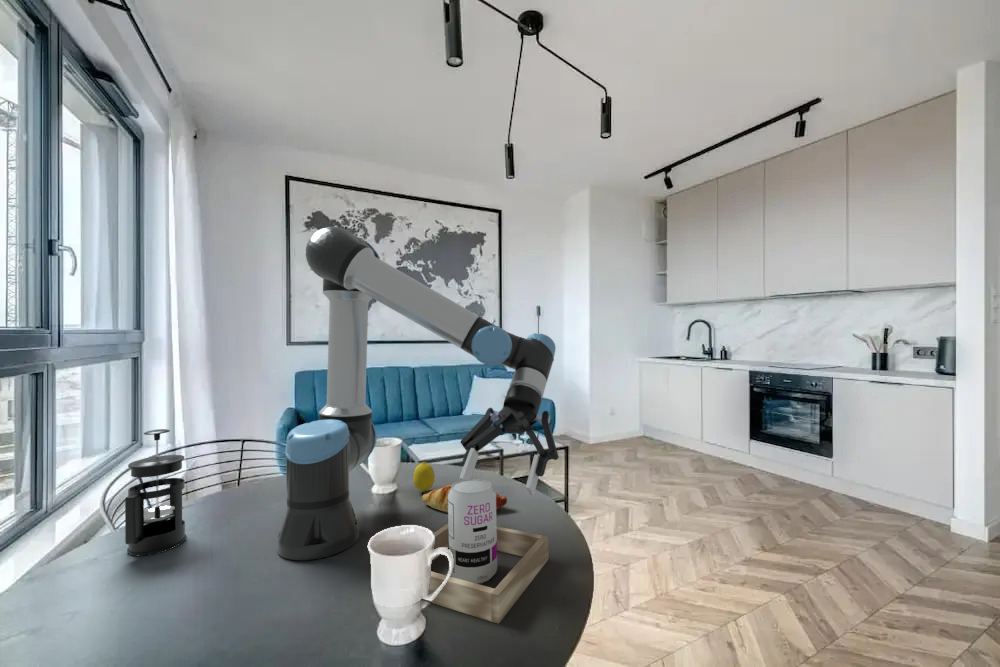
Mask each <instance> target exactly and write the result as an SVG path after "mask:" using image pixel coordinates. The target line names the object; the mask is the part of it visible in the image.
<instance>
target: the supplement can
mask: <svg viewBox="0 0 1000 667" xmlns="http://www.w3.org/2000/svg"><path fill="white" fill-rule="evenodd" d="M451 485H452V486H451V490H450V492H449V494H448V514H447V517H448V518H447V519H448V522H447V523H448V527H449V549H450V550H451V552H452V554H453V558H454V568H453V572H452V575H450V577H454V578H457V579H461V580H465V581H468V582H472V583H476V584H479V585H481V584H484V583H486V582H488V581H490V579H491V578H493V576H495V574H496V573H497V570H498V551H497V527H498V525H497V509H496V493H497V492H496V491H495V489H494V487H493V484H492V482H490V481H489V480H486V479H479V478H473V479H472V478H471V479H467V480H458V481H455V482H454V483H452V484H451ZM449 549H448V550H449Z"/></svg>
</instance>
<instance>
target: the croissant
mask: <svg viewBox="0 0 1000 667" xmlns="http://www.w3.org/2000/svg"><path fill="white" fill-rule="evenodd" d="M452 485H453V484H447V485H445V486H443V487H442V488H439V489H433V490H431V491H429V492H427V493H424V494H423V495H422V497H421V501H422V502H423V503H424V504H425V505H426V506H429V507H431V508H432V509H435V510H438V511H440V512H444V513H448V494H449V492H450V490H451V486H452ZM495 493H496V510H498V509H500V508H501V507H503V506H506V505H507V503H508V498H507V496H505V495H499V493H497V492H495Z"/></svg>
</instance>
